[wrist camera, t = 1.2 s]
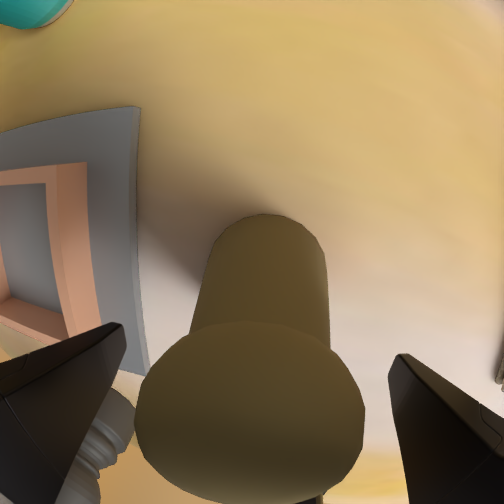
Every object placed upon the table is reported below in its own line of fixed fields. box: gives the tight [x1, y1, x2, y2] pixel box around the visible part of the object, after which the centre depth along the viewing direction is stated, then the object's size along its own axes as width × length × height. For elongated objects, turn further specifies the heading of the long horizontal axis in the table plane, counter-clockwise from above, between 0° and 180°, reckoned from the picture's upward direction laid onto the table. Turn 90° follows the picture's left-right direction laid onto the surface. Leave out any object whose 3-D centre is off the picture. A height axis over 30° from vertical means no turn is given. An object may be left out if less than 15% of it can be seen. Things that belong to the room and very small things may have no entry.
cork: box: [134, 214, 365, 504], centre depth 9 cm, size 6×6×11 cm
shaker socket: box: [0, 106, 150, 376], centre depth 14 cm, size 16×16×3 cm
